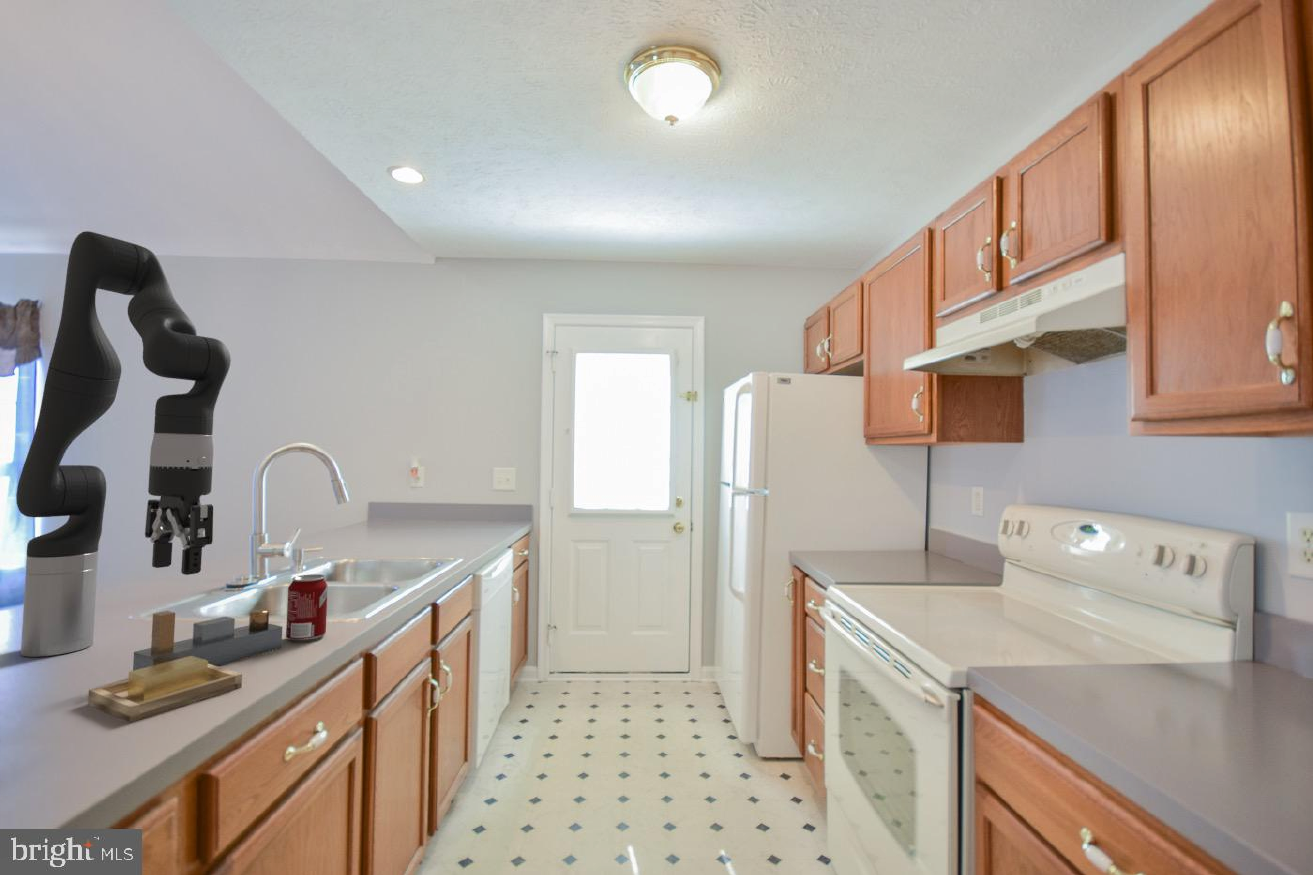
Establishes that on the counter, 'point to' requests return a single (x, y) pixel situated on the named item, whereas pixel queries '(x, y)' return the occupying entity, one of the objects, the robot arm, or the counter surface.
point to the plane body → (210, 640)
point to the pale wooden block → (167, 678)
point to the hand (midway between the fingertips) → (176, 570)
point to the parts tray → (131, 709)
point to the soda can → (306, 608)
